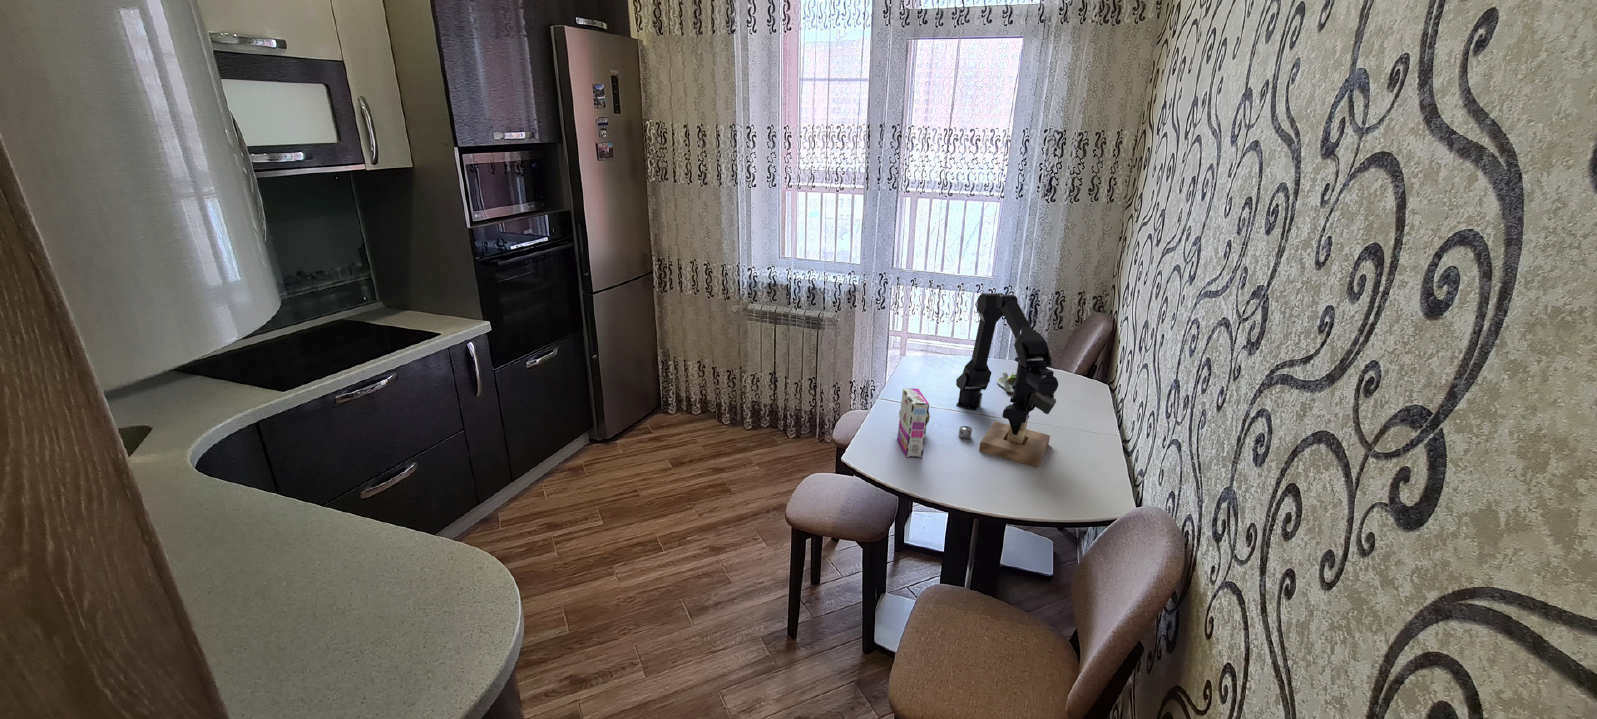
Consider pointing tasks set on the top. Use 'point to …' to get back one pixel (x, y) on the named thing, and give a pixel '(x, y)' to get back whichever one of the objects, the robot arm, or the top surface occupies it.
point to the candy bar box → (913, 422)
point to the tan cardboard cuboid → (1019, 436)
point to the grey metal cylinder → (965, 432)
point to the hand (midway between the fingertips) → (1016, 431)
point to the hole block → (1014, 445)
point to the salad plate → (1007, 382)
